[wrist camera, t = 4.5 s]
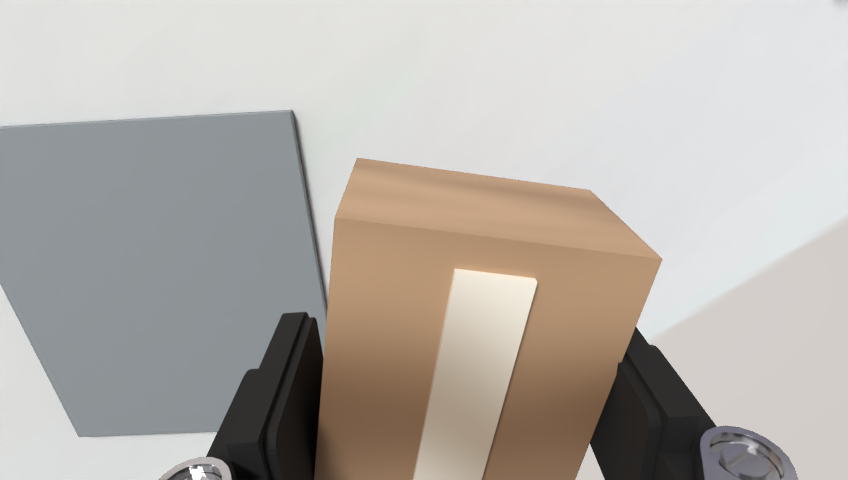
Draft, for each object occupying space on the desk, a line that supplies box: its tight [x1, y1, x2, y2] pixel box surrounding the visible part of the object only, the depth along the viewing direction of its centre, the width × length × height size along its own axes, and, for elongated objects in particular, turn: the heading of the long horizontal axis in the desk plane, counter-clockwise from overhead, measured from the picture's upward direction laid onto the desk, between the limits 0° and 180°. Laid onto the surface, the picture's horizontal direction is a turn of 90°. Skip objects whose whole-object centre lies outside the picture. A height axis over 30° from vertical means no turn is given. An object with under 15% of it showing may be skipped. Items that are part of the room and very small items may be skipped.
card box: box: [314, 158, 662, 480], centre depth 11 cm, size 8×6×4 cm, turn 172°
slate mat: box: [0, 110, 327, 437], centre depth 22 cm, size 16×14×1 cm
